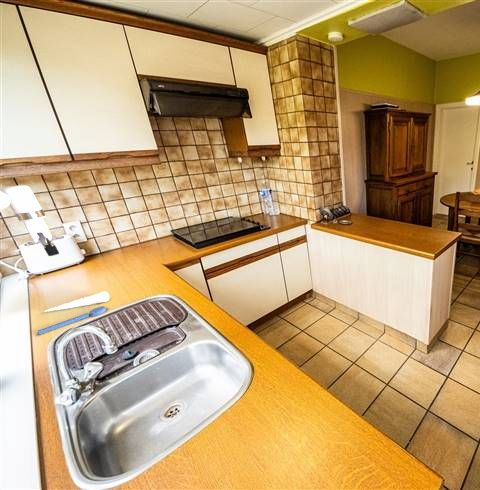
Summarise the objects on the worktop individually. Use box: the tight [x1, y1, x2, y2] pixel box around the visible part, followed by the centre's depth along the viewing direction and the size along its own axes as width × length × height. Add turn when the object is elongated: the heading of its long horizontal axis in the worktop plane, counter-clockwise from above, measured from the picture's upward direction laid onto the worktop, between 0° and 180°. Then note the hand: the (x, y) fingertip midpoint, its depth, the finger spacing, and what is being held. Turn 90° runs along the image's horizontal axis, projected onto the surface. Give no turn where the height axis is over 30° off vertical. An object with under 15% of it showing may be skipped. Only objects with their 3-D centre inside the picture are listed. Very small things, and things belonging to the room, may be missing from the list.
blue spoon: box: [37, 305, 107, 335], centre depth 109 cm, size 20×5×1 cm, turn 136°
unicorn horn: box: [42, 291, 110, 313], centre depth 119 cm, size 5×24×5 cm, turn 104°
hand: (54, 254), depth 119 cm, fingers closed
